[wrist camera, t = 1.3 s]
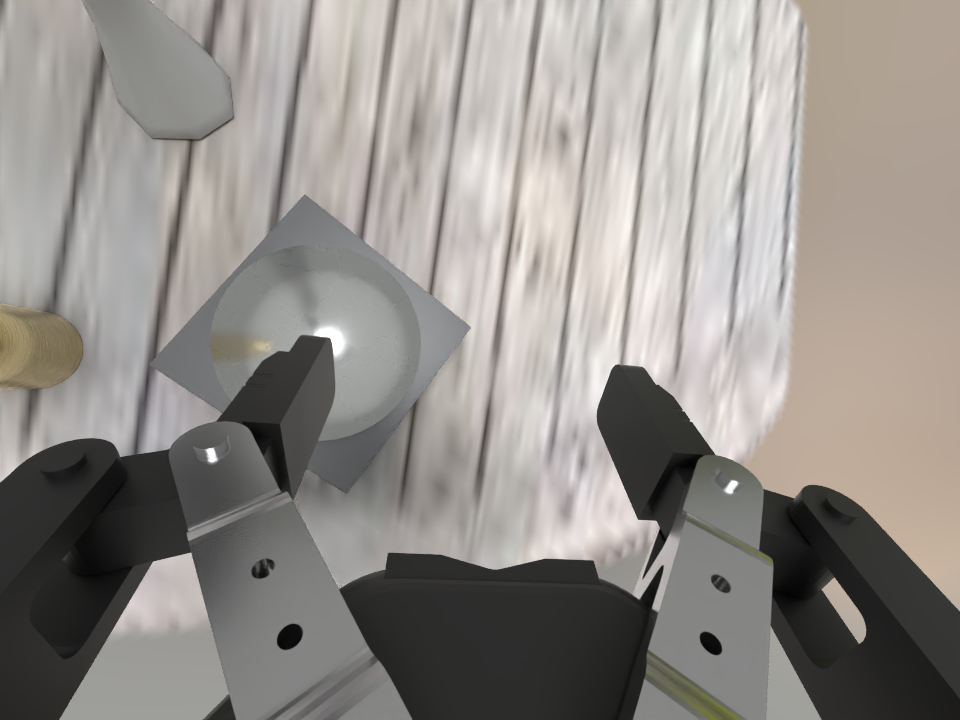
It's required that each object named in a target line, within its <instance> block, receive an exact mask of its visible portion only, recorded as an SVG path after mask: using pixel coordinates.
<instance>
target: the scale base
mask: <svg viewBox="0 0 960 720" xmlns="http://www.w3.org/2000/svg"><path fill="white" fill-rule="evenodd" d="M307 244H323V245H331V246H337V247H341V248H345V249H349V250H352V251H354V252H357V253H360V254H362V255H364V256H366V257H368V258H369V259H371V260H373V261H375V262H376V263H377V264H379V265H380V266H382V267H383V268H384V269H385V270H387V271H388V272H389V273H390V274H391V275H392V276H393V277H394V278H395V279H396V280H397V281H398V283H399V284H400V285H401V286H402V288H403V289H404V291H405V292H406V294H407V295H408V297H409V299H410V301H411V303H412V305H413V307H414V309H415V312H416V315H417V318H418V323H419V327H420V335H421V351H420V359H419V364H418V368H417V371H416V374H415V377H414V380H413V382H412V384H411V386H410V388H409V390H408V391H407V393H406V394H405V396H404V397H403V399H402V400H401V401H400V403H399V404H398V405H397V406H396V407H395V408H394V409H393V410H392V411H391V412H390V413H389V414H388V415H387V416H386V417H385V418H383V419H382V420H380V421H379V422H377V423H376V424H375V425H373V426H371V427H369V428H367V429H365V430H363V431H362V432H359V433H356V434H354V435H351V436H348V437H344V438H339V439H335V440H326V441H317V444H316V446H315V449H314V451H313V454H312V456H311V458H310V461H309V463H308V466H307V468H308V469H309V470H311V471H312V472H314V473H315V474H317V475H318V476H320V477H321V478H323V479H324V480H326V481H327V482H329V483H330V484H332V485H333V486H335V487H337V488H338V489H340V490H341V491H343V492H344V493H346V494H347V492H348V491H349V490H350V488H351V487H352V486H353V484H354V483H355V482H356V480H357V479H358V478H359V476H360V475H361V474H362V472H363V471H364V470H365V468H366V467H367V466H368V464H369V463H370V462H371V460H372V459H373V458H374V456H375V455H376V454H377V452H378V451H379V450H380V448H381V447H382V446H383V444H384V443H385V442H386V440H387V439H388V438H389V436H390V435H391V434H392V432H393V431H394V430H395V428H396V427H397V426H398V424H399V423H400V422H401V420H402V419H403V418H404V416H405V415H406V414H407V412H408V411H409V410H410V408H411V407H412V406H413V404H414V403H415V402H416V400H417V399H418V398H419V396H420V395H421V394H422V392H423V391H424V390H425V388H426V387H427V386H428V384H429V383H430V381H431V380H432V379H433V377H434V376H435V375H436V373H437V372H438V371H439V369H440V368H441V367H442V365H443V364H444V363H445V361H446V360H447V359H448V357H449V356H450V355H451V353H452V352H453V351H454V349H455V348H456V347H457V345H458V344H459V343H460V341H461V340H462V339H463V337H464V336H465V335H466V333H467V332H468V331H469V329H470V328H471V327H470V326H469V325H468V324H466V323H465V322H464V321H463V320H461V319H460V318H459V317H458V316H456V315H455V314H454V313H453V312H451V311H450V310H449V309H448V308H446V307H445V306H444V305H443V304H441V303H440V302H439V301H438V300H436V299H435V298H434V297H433V296H431V295H430V294H429V293H428V292H426V291H425V290H424V289H423V288H421V287H420V286H419V285H418V284H416V283H415V282H414V281H413V280H411V279H410V278H409V277H408V276H406V275H405V274H404V273H403V272H401V271H400V270H399V269H398V268H396V267H395V266H394V265H393V264H391V263H390V262H389V261H388V260H386V259H385V258H384V257H383V256H381V255H380V254H379V253H378V252H376V251H375V250H374V249H373V248H371V247H370V246H369V245H368V244H366V243H365V242H364V241H363V240H361V239H360V238H359V237H358V236H356V235H355V234H354V233H353V232H351V231H350V230H349V229H348V228H346V227H345V226H344V225H343V224H341V223H340V222H339V221H338V220H336V219H335V218H334V217H333V216H331V215H330V214H329V213H327V212H326V211H325V210H324V209H322V208H321V207H320V206H319V205H317V204H316V203H315V202H314V201H312V200H311V199H310V198H309V197H307V196H306V195H304V196H303V197H302V198H301V199H300V200H299V201H298V202H297V204H296V205H295V206H294V207H293V208H292V209H291V210H290V211H289V212H288V213H287V215H286V216H285V217H284V218H283V219H282V220H281V221H280V222H279V223H278V224H277V225H276V227H275V228H274V229H273V230H272V231H271V232H270V233H269V234H268V235H267V236H266V237H265V239H264V240H263V241H262V242H261V243H260V244H259V245H258V246H257V247H256V248H255V249H254V251H253V252H252V253H251V254H250V255H249V256H248V257H247V258H246V259H245V260H244V262H243V263H242V264H241V265H240V266H239V267H238V268H237V269H236V270H235V271H234V272H233V274H232V275H231V276H230V277H229V278H228V279H227V280H226V281H225V282H224V283H223V284H222V286H221V287H220V288H219V289H218V290H217V291H216V292H215V293H214V294H213V295H212V296H211V298H210V299H209V300H208V301H207V302H206V303H205V304H204V305H203V306H202V307H201V308H200V310H199V311H198V312H197V313H196V314H195V315H194V316H193V317H192V318H191V319H190V321H189V322H188V323H187V324H186V325H185V326H184V327H183V328H182V329H181V330H180V331H179V333H178V334H177V335H176V336H175V337H174V338H173V339H172V340H171V341H170V342H169V343H168V345H167V346H166V347H165V348H164V349H163V350H162V351H161V352H160V353H159V354H158V355H157V357H156V358H155V359H154V360H153V361H152V362H151V363H150V364H149V365H150V366H152V367H154V368H155V369H157V370H158V371H160V372H161V373H163V374H164V375H166V376H167V377H169V378H170V379H172V380H173V381H175V382H176V383H178V384H179V385H181V386H183V387H184V388H186V389H187V390H189V391H190V392H192V393H193V394H195V395H196V396H198V397H199V398H201V399H202V400H204V401H205V402H207V403H208V404H210V405H211V406H213V407H215V408H216V409H218V410H219V411H221V412H222V413H223V412H224V411H225V410H226V408H227V407H228V406H229V404H230V403H231V402H232V401H231V400H230V398H229V397H228V396H227V394H226V393H225V391H224V389H223V387H222V386H221V384H220V382H219V380H218V377H217V375H216V372H215V369H214V365H213V361H212V356H211V344H210V339H211V327H212V323H213V319H214V315H215V312H216V309H217V307H218V304H219V302H220V300H221V298H222V296H223V295H224V293H225V291H226V290H227V288H228V287H229V286H230V284H231V283H232V282H233V281H234V279H235V278H236V277H237V276H238V275H239V274H240V273H241V272H243V271H244V270H245V269H246V268H247V267H249V266H250V265H251V264H253V263H254V262H255V261H257V260H259V259H261V258H262V257H264V256H266V255H268V254H270V253H273V252H276V251H278V250H281V249H284V248H289V247H293V246H298V245H307Z"/></svg>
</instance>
